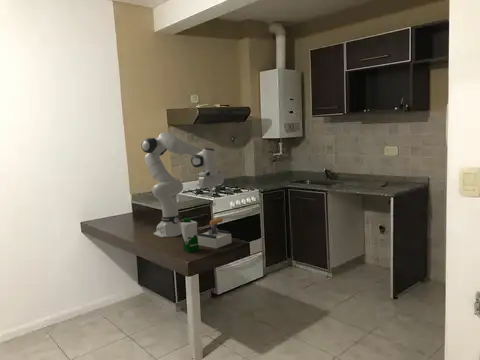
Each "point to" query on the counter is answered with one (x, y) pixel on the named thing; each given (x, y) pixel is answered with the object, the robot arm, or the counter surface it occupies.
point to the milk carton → (189, 235)
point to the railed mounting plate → (212, 235)
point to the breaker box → (215, 243)
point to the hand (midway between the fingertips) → (212, 192)
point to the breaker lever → (215, 224)
